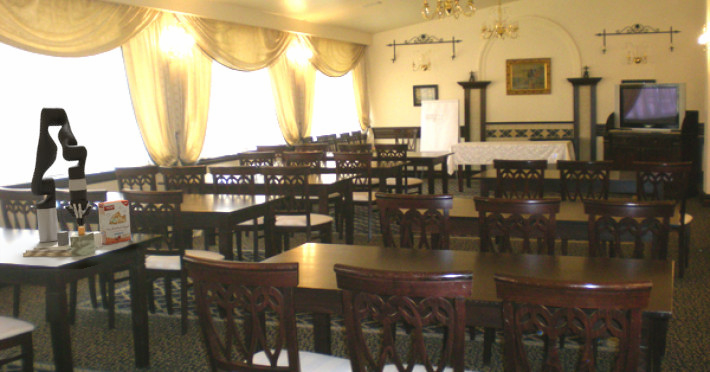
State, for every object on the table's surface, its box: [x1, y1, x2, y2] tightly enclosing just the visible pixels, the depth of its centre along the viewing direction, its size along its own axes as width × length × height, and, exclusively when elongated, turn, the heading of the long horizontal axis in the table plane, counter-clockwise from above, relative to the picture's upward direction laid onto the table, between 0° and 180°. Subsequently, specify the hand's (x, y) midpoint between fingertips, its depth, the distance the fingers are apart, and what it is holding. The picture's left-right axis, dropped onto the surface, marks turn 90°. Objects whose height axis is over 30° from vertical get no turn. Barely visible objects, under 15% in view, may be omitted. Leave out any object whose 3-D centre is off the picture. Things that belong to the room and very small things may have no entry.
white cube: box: [88, 230, 102, 248], centre depth 316 cm, size 7×7×7 cm
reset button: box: [77, 226, 86, 235], centre depth 300 cm, size 3×3×5 cm
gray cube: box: [49, 230, 71, 250], centre depth 301 cm, size 8×9×8 cm
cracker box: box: [97, 199, 132, 246], centre depth 325 cm, size 14×6×21 cm, turn 143°
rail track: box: [22, 232, 96, 257], centre depth 302 cm, size 30×10×9 cm, turn 83°
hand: (81, 225), depth 299 cm, fingers closed
